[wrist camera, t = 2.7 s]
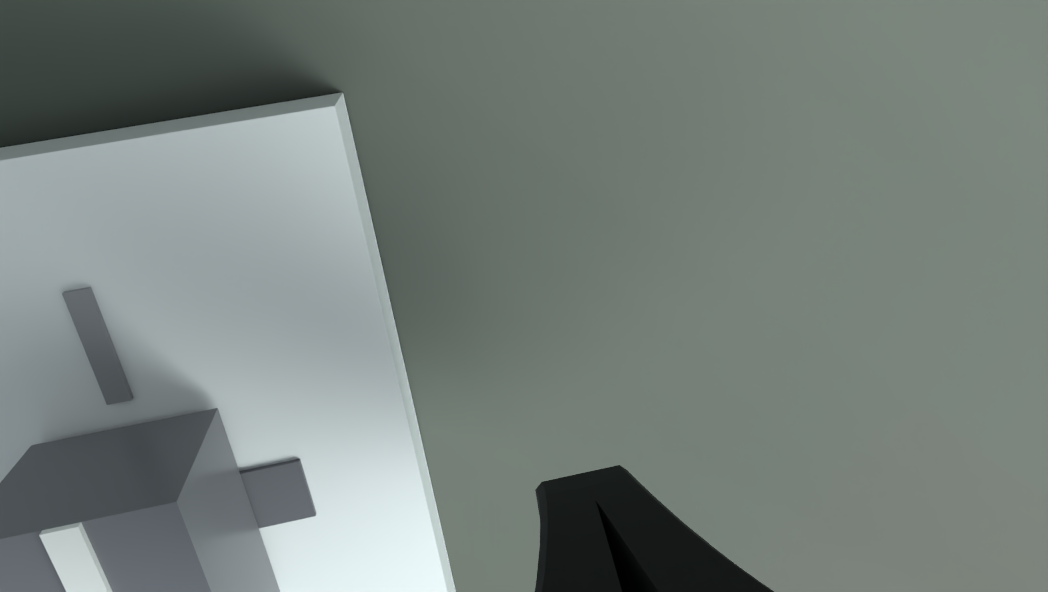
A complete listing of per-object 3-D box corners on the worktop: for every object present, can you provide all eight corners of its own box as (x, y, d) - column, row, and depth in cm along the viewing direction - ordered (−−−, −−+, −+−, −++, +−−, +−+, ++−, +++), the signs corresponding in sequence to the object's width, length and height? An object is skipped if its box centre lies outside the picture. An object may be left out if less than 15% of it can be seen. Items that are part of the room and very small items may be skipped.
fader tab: (280, 590, 14) (255, 715, 12) (115, 628, 14) (53, 764, 11) (218, 408, 13) (174, 506, 10) (31, 445, 12) (-62, 556, 10)
